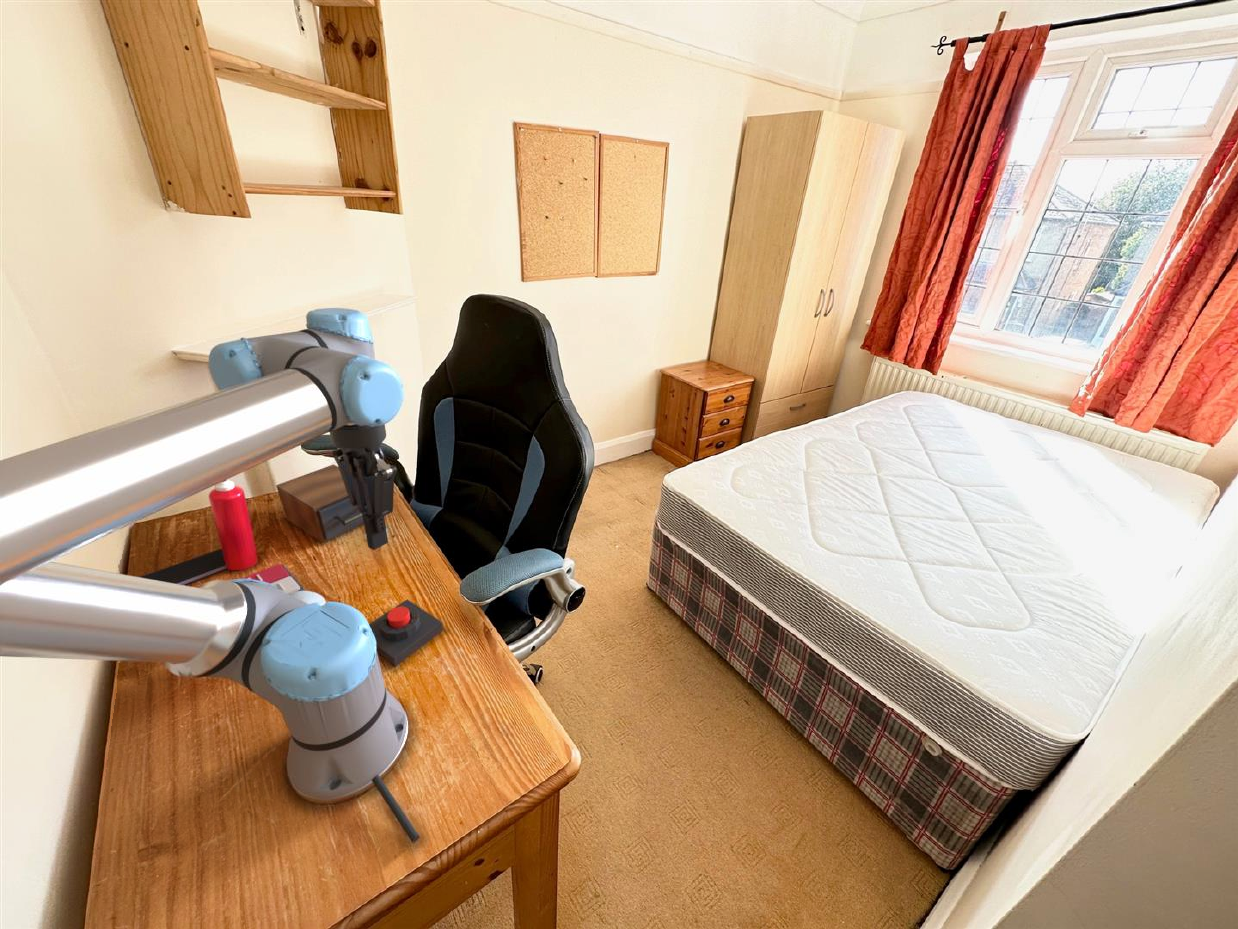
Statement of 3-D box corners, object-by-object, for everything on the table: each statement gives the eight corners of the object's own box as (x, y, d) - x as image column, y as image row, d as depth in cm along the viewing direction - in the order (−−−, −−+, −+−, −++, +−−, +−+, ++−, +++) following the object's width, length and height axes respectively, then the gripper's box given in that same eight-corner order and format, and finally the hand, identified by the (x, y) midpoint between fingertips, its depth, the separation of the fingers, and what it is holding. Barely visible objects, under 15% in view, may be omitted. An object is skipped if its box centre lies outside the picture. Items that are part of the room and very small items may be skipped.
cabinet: (377, 516, 120) (370, 483, 115) (322, 543, 109) (312, 507, 105) (341, 496, 126) (333, 464, 122) (286, 519, 116) (275, 485, 112)
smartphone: (237, 561, 101) (141, 597, 90) (238, 565, 101) (143, 601, 90) (225, 546, 105) (132, 579, 94) (226, 551, 105) (134, 583, 94)
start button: (414, 619, 87) (413, 612, 86) (397, 631, 84) (395, 624, 83) (402, 610, 88) (400, 603, 87) (384, 622, 85) (382, 615, 85)
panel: (443, 630, 89) (440, 614, 87) (395, 667, 82) (391, 650, 80) (408, 607, 94) (405, 592, 92) (360, 640, 86) (356, 624, 84)
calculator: (303, 586, 92) (205, 627, 81) (307, 603, 94) (212, 645, 83) (281, 560, 98) (187, 595, 87) (286, 577, 100) (194, 613, 89)
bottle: (220, 563, 100) (198, 480, 91) (248, 550, 105) (230, 471, 96) (235, 574, 98) (215, 490, 89) (263, 560, 103) (247, 480, 94)
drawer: (388, 522, 116) (383, 495, 113) (338, 547, 107) (330, 518, 103) (343, 497, 125) (337, 470, 121) (293, 518, 115) (284, 490, 112)
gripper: (406, 420, 72) (422, 547, 83) (352, 400, 78) (373, 522, 88) (360, 435, 66) (383, 570, 77) (304, 412, 72) (334, 542, 82)
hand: (378, 544), depth 82 cm, fingers closed
